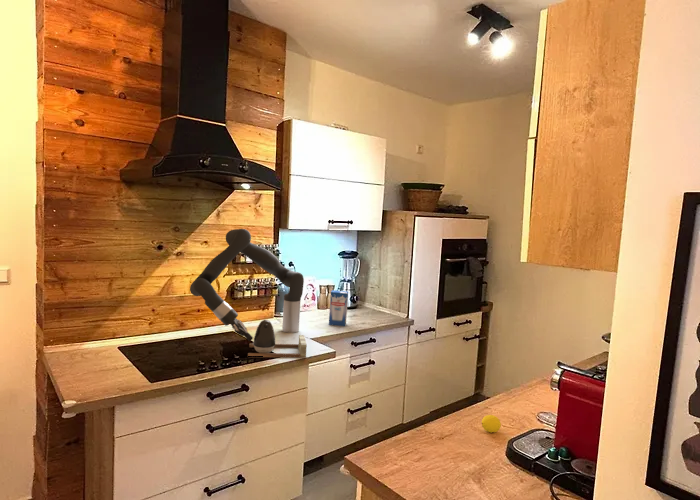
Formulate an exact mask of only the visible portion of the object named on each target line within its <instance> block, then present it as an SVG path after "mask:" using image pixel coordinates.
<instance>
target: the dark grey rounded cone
mask: <svg viewBox="0 0 700 500" xmlns="http://www.w3.org/2000/svg"><path fill="white" fill-rule="evenodd" d="M252 344H253V345H254V347H253V348H254V351H256V353H271V352H273V350H274V346H275V344H276V334H275V331H274V326H273V324H272V322H271V321H270V320H269V319H263V320H261V321H260V322H259V323H258V325H257V328H256V331H255V334H254V337H253V342H252Z"/></svg>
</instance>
